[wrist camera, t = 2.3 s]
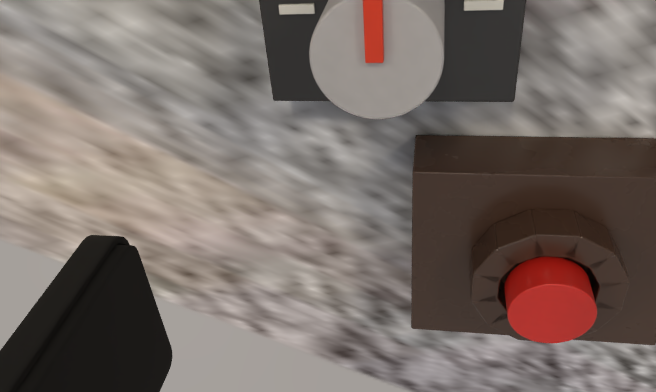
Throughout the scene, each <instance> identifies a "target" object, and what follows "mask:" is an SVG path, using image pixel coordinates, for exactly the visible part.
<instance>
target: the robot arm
mask: <svg viewBox="0 0 656 392" xmlns="http://www.w3.org/2000/svg"><path fill="white" fill-rule="evenodd" d="M171 361H172V349H171V345H170V342H169V339H168V337H167V334H166V331H165V328H164V325H163V322H162V319H161V317H160V314H159V311H158V308H157V305H156V302H155V299H154V296H153V293H152V290H151V287H150V284H149V282H148V279H147V276H146V273H145V270H144V267H143V264H142V261H141V258H140V255H139V253H138V250H137V248H136V247H135V246H131V245H129V243H128V241H127V240H126V239H125V238H124V237H120V236H100V235H90V236H88V237H86V238H85V239H84V240H83V241H82V243H81V244H80V245H79V247H78V248H77V249H76V251H75V252H74V253H73V255H72V256H71V257H70V259H69V260H68V261H67V263H66V264H65V265H64V267H63V268H62V269H61V271H60V272H59V273H58V275H57V276H56V277H55V279H54V280H53V281H52V283H51V284H50V285H49V287H48V288H47V289H46V291H45V292H44V293H43V295H42V296H41V297H40V298H39V300H38V302H37V303H36V304H35V305H34V306H33V308H32V309H31V311H30V312H29V313H28V314H27V316H26V317H25V318H24V320H23V321H22V322H21V324H20V325H19V327H18V328H17V329H16V330H15V332H14V333H13V335H12V336H11V337H10V338H9V340H8V341H7V342H6V344H5V345H4V347H3V348H2V349H1V350H0V392H160V389H161V387H162V385H163V383H164V381H165V378H166V376H167V374H168V372H169V369H170V366H171Z"/></svg>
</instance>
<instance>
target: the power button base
mask: <svg viewBox="0 0 656 392" xmlns="http://www.w3.org/2000/svg"><path fill="white" fill-rule="evenodd" d="M538 257H560V258H565V259H568V260H570V261H573V262H574V263H576V264H578V265H579V266H580V267H582V268H583V270H584V271H585V272H586V273H587V275H588V277H589V280H590V284H591V288H592V292H593V295H594V299H595V303H596V306H597V317H596V320H595V322H594V324H593V326H592V327H591V328H590V329H589V330H588V331H587V332H586V333H584V334H583V335H581V336H579V337H577V338H575V339H572V340H586V341H601V342H615V343H630V344H644V345H655V344H656V139H654V138H583V137H512V136H440V135H416V137H415V149H414V162H413V190H412V315H411V327H412V328H413V329H426V330H440V331H455V332H470V333H484V334H499V335H510V336H512V337H514V338H516V339H518V340H528V341H532V340H529V339H527V338H525V337H523V336H521V335H520V334H518V333H517V332H516V331H515V330H514V329H513V328H512V327H511V325H510V323H509V321H508V317H507V308H506V299H505V289H504V287H505V281H506V279H507V277H508V275H509V273H510V272H511V271H512V270H513V269H514V268H515V267H516V266H518V265H519V264H521V263H523V262H525V261H527V260H530V259H533V258H538Z"/></svg>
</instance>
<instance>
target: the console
mask: <svg viewBox="0 0 656 392" xmlns="http://www.w3.org/2000/svg"><path fill="white" fill-rule="evenodd" d="M259 2H260V9H261V16H262V23H263V30H264V37H265V45H266V52H267V59H268V66H269V73H270V80H271V87H272V94H273V100H274V101H330V100H329V99H328V98H327V97H326V96H325V95H324V93H323V92H322V91H321V89H320V88H319V86H318V85H317V83H316V81H315V79H314V76H313V73H312V70H311V66H310V59H309V50H310V42H311V38H312V35H313V32H314V30H315V27H316V25H317V23H318V21H319V19H320V17H321V15H322V13H323V11H324V9H325V6H326V4H327V2H328V0H259ZM444 4H445V15H444V65H443V70H442V74H441V77H440V80H439V82H438V84H437V86H436V87H435V89H434V91H433V92H432V93H431V95H430V96H429V97H428V98H427V99H426V100H425V101H473V102H513V101H514V99H515V90H516V82H517V73H518V64H519V56H520V47H521V39H522V30H523V22H524V13H525V4H526V0H444Z"/></svg>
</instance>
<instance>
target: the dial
mask: <svg viewBox="0 0 656 392" xmlns="http://www.w3.org/2000/svg"><path fill="white" fill-rule="evenodd" d="M444 15H445V4H444V0H328V2H327V4H326V6H325V9H324V11H323V13H322V15H321V17H320V19H319V21H318V23H317V25H316V27H315V30H314V32H313V35H312V38H311V42H310V50H309V59H310V66H311V70H312V73H313V76H314V79H315V81H316V83H317V85H318V86H319V88H320V89H321V91H322V92H323V93H324V95H325V96H326V97H327V98H328V99H329V100H330V101H331V102H332V103H333V104H335V105H336V106H337V107H339V108H340V109H342V110H344V111H345V112H348V113H350V114H352V115H355V116H358V117H362V118H367V119H388V118H394V117H397V116H401V115H403V114H406V113H408V112H410V111H412V110H413V109H415V108H417V107H418V106H419V105H421V104H422V103H423V102H424V101H425V100H426V99H427V98H428V97H429V96H430V95H431V93H432V92H433V91H434V89H435V87H436V86H437V84H438V82H439V80H440V77H441V74H442V70H443V65H444Z"/></svg>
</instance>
